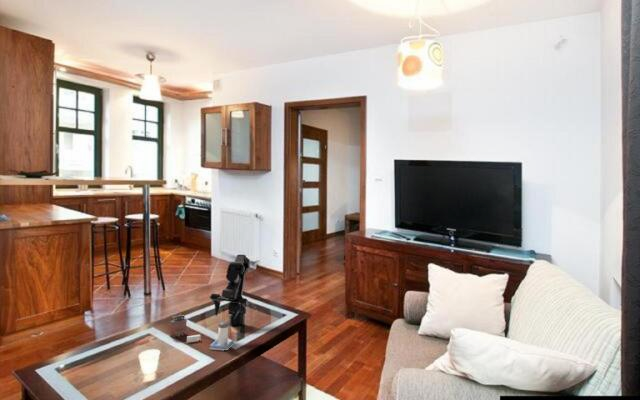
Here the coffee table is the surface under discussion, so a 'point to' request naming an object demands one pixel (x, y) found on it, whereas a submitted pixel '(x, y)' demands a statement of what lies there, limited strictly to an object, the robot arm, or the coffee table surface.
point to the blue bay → (218, 347)
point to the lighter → (178, 325)
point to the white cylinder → (223, 334)
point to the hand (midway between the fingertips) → (224, 317)
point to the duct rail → (193, 338)
